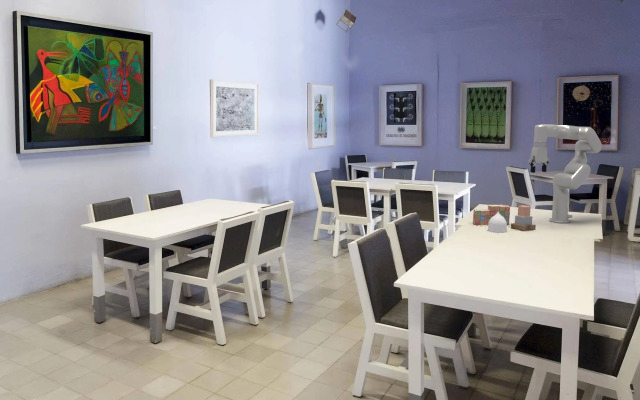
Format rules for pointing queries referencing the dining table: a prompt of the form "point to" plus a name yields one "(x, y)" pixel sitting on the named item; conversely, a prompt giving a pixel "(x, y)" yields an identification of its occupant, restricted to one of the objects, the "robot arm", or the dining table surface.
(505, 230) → the teardrop
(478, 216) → the stack of blocks
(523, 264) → the dining table surface
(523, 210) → the terracotta block
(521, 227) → the plinth
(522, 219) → the grey block
